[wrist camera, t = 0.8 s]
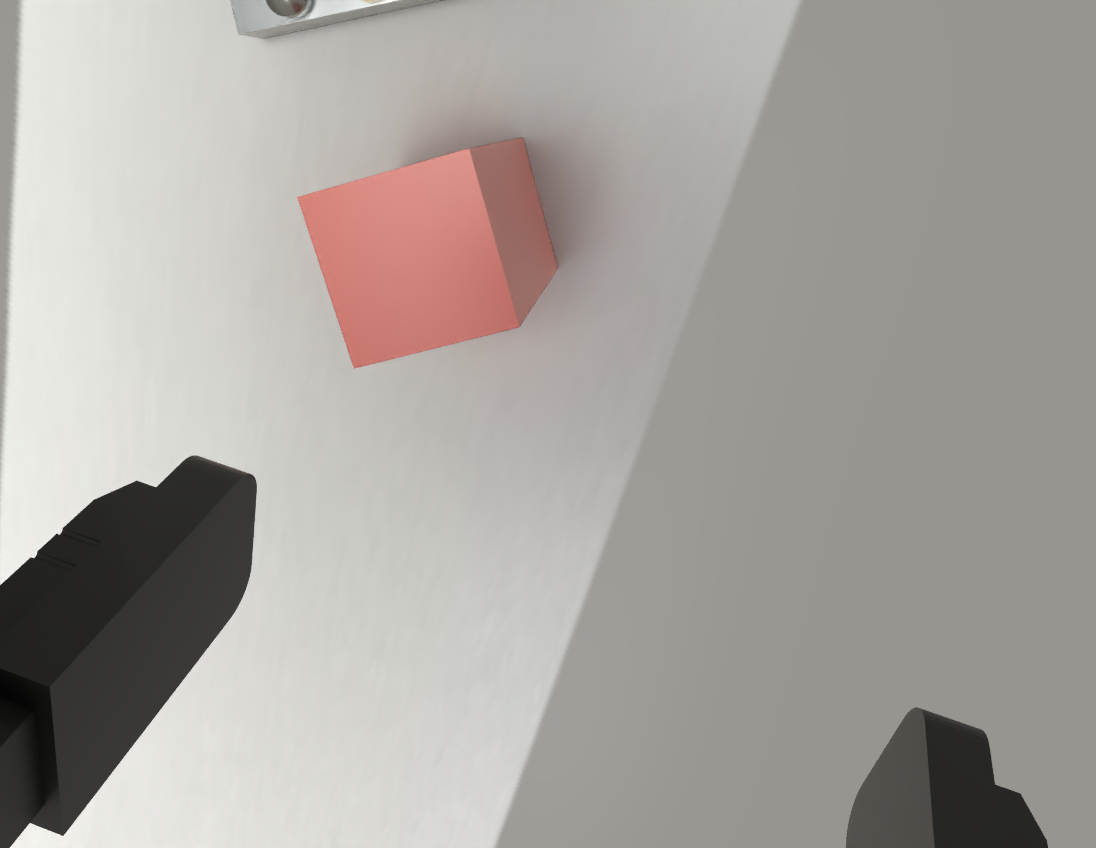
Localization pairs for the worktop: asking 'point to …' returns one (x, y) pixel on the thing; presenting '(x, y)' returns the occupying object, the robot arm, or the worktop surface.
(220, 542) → the robot arm
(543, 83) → the worktop surface
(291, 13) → the ball-studded metal plate
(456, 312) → the block
